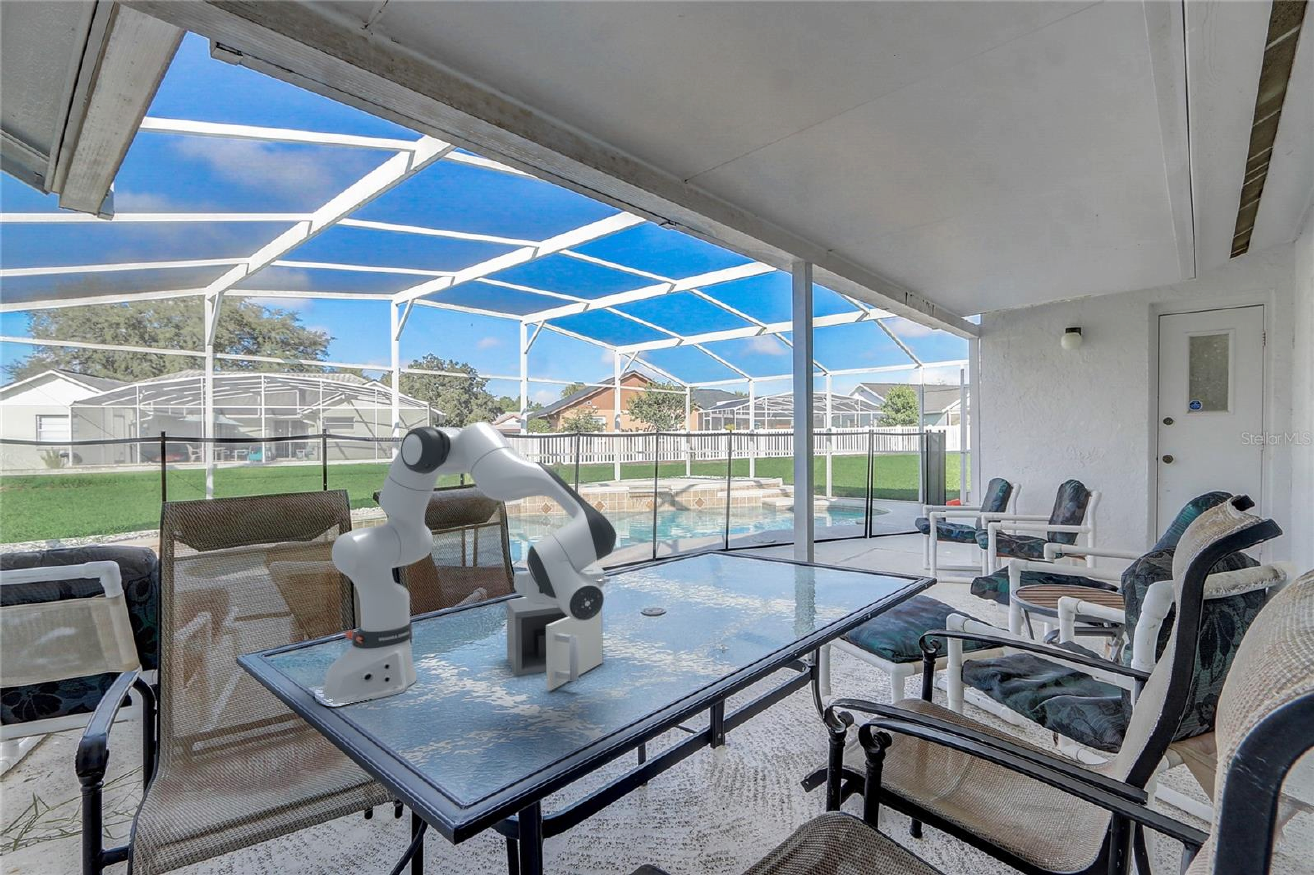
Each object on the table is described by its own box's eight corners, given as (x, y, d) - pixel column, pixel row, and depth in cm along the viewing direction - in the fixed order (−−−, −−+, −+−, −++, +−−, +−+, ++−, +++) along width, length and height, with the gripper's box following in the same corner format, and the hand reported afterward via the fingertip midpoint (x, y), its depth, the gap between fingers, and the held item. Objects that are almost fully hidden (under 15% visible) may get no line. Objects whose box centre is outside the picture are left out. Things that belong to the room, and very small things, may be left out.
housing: (516, 676, 148) (515, 612, 149) (507, 659, 161) (506, 600, 162) (599, 663, 157) (598, 602, 157) (585, 647, 170) (584, 591, 170)
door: (571, 695, 134) (570, 629, 135) (546, 689, 138) (545, 625, 139) (622, 665, 153) (621, 607, 154) (600, 661, 157) (599, 604, 157)
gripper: (613, 567, 132) (595, 556, 144) (520, 573, 124) (510, 561, 137) (612, 595, 132) (594, 582, 144) (520, 603, 124) (509, 588, 136)
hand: (553, 572), depth 140 cm, fingers open, 5 cm apart
